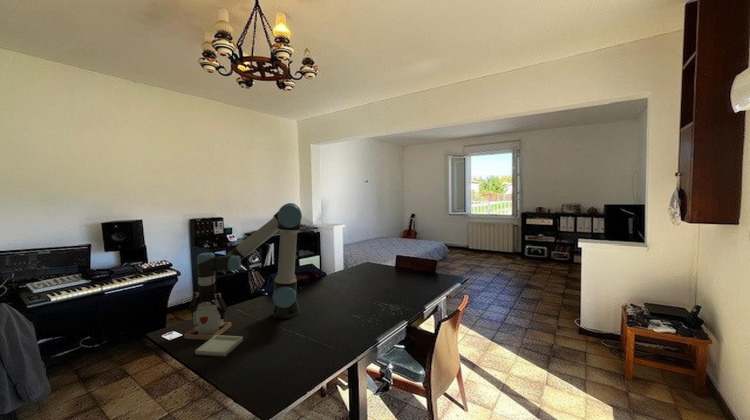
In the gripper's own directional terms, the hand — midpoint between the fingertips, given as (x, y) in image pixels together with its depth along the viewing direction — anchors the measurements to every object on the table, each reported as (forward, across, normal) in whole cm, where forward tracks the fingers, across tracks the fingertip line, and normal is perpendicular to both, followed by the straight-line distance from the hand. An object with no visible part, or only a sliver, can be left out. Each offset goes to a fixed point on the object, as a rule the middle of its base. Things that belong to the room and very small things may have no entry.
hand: (208, 324), depth 152 cm
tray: (+4, -15, +13) cm, 20 cm away
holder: (+4, 0, 0) cm, 4 cm away
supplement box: (+4, 0, 0) cm, 4 cm away
